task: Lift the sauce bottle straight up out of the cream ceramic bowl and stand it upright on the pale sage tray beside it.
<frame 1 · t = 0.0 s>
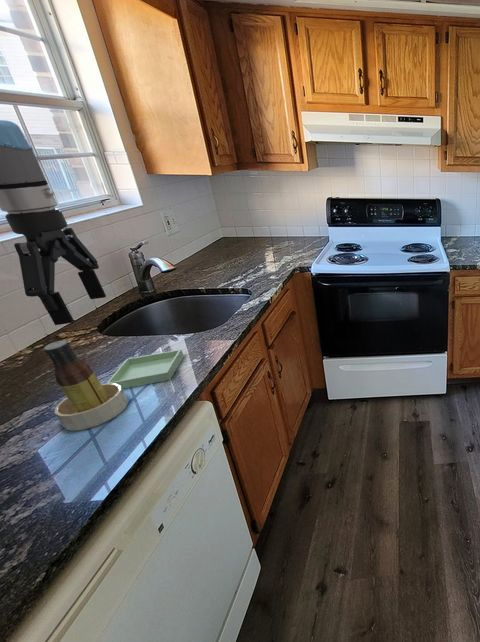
hand: (83, 309, 79), 29 cm above the counter, tool pointing down, fingers open, 13 cm apart
sauce bottle: (96, 412, 91), resting on bowl
tray: (149, 372, 107), on the counter
bowl: (97, 412, 91), on the counter
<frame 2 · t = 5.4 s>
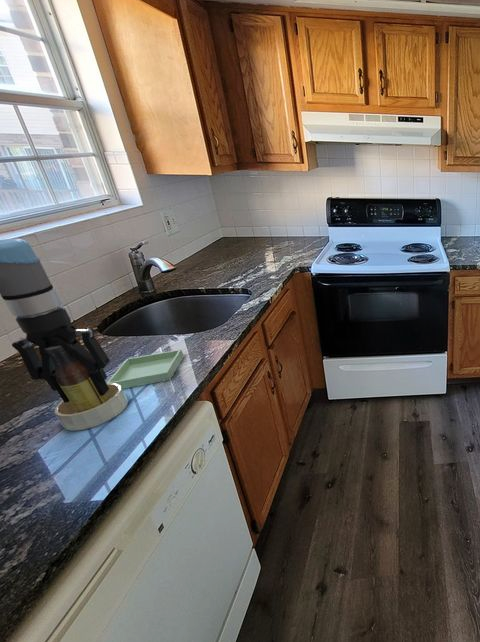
hand: (87, 395, 89), 5 cm above the counter, tool pointing down, fingers closed on sauce bottle, 6 cm apart
sauce bottle: (96, 412, 91), resting on bowl, touching gripper
when the fingers open (6 cm above the counter, at t = 14.0 s): sauce bottle stays where it is, resting on tray.
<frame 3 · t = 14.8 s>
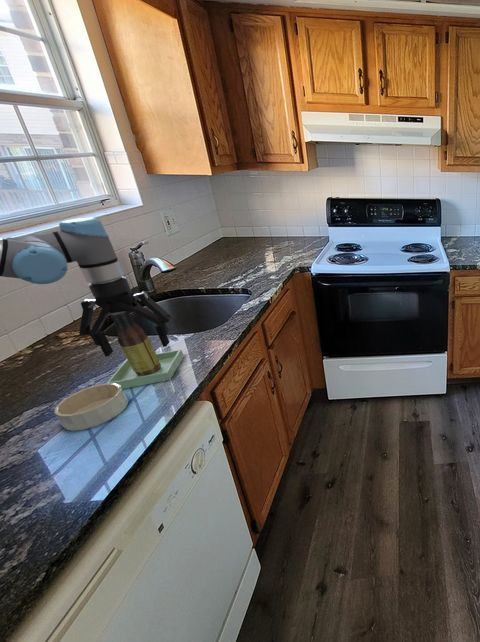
hand: (138, 349, 103), 8 cm above the counter, tool pointing down, fingers open, 13 cm apart
sauce bottle: (148, 371, 106), resting on tray
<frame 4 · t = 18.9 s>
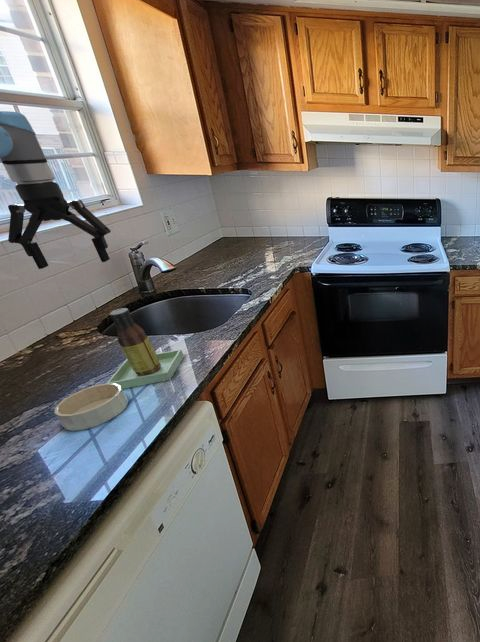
hand: (75, 264, 99), 32 cm above the counter, tool pointing down, fingers open, 13 cm apart
nothing on the counter moved.
at the end: sauce bottle inside the target area in the tray (0.1 cm from its centre), point 0.3 cm above the tray's base; sauce bottle tilted 0°; sauce bottle touching tray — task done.
